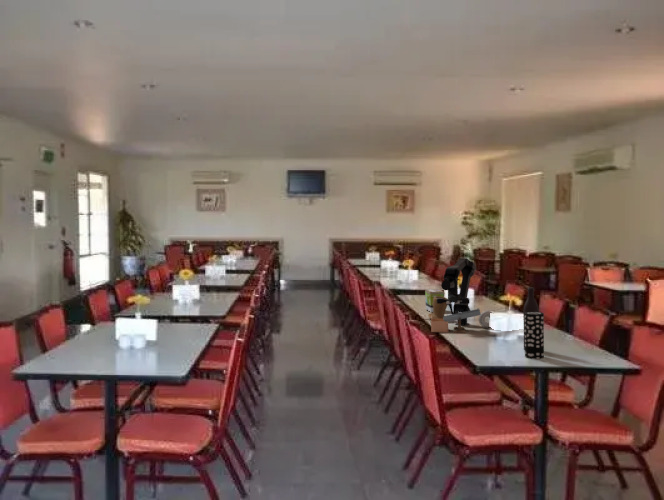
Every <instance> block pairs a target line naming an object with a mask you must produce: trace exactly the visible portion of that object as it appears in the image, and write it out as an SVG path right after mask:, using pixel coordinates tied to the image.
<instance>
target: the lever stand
mask: <svg viewBox="0 0 664 500" xmlns="http://www.w3.org/2000/svg"><path fill="white" fill-rule="evenodd" d="M457 323H458V325H457V326H453V330H454V331H453V332H454V333H455V334H458V333H459V334H464V333H466V330H465V326H462V325H461V318H459V320H457Z"/></svg>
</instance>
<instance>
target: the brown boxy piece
mask: <svg viewBox="0 0 664 500" xmlns="http://www.w3.org/2000/svg"><path fill="white" fill-rule="evenodd" d="M430 329H431V330H430V332H431V333H449V322H448V321H444V320H443V319H432V315H431V319H430Z"/></svg>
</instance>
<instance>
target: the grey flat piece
mask: <svg viewBox="0 0 664 500" xmlns="http://www.w3.org/2000/svg"><path fill="white" fill-rule="evenodd" d="M470 310H471V311H466V312H461V313H457V314H452V313H451V314H448V315H444V316H443V320H444V321H448V323H450V322H453V321H458V320H459V318H461V319H464V318H467V319H469V318H473V317H477V316H478V317H479V316H480V315H481V313H482V312H481V310H480V307H478V308H477V309H470Z"/></svg>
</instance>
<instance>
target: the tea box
mask: <svg viewBox="0 0 664 500" xmlns="http://www.w3.org/2000/svg"><path fill="white" fill-rule="evenodd" d="M424 293H425V294H424V295H425V296H424V297H425V300H424V301H425V310H426V311H427V310H428V312H429V311H430V312H429V313H431V312H433V298H434V297H435V296H441V297H445V290H443V289H442V290H441V289H439V288H434V289H433V288H431V289H430V288H429V289H425V291H424Z"/></svg>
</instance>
